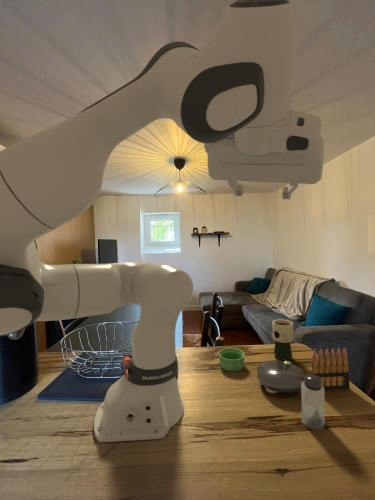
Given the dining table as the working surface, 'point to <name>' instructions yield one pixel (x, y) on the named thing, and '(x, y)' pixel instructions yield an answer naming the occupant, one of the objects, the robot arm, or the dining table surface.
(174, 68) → the robot arm
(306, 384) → the clear bottle
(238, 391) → the dining table surface
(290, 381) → the grey lid
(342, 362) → the ammunition clip
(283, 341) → the character mug
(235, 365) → the ramekin
